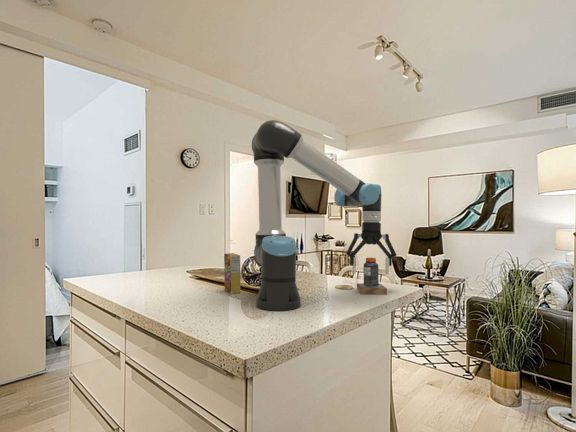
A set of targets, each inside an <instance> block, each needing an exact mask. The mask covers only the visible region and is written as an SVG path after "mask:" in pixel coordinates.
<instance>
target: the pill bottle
mask: <svg viewBox="0 0 576 432" xmlns="http://www.w3.org/2000/svg"><path fill="white" fill-rule="evenodd" d="M376 261H377V258H376V257H366V258H365V263H363V283H364V285H365V286H371V287H374V286H378V285H379V284H380V282H379V264H378V263H377V262H376Z"/></svg>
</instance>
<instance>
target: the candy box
mask: <svg viewBox="0 0 576 432" xmlns="http://www.w3.org/2000/svg"><path fill="white" fill-rule="evenodd" d="M223 257H224V258H223V259H224V260H223V261H224V266H223V267H224V269H223V270H224V290H225V291H226V292H228V293H229V294H230V295H235V294H237V295H238V294H241V255H240V254H236V253H233V252H232V253H230V252H228V253H224V255H223Z"/></svg>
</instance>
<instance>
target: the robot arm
mask: <svg viewBox="0 0 576 432" xmlns="http://www.w3.org/2000/svg"><path fill="white" fill-rule="evenodd" d="M251 151H252V153H253V164H255V166H257V180H258V182H257V183H258V184H257V185H258V187H257V188H258V221H259V222H258V224H259V228H258V231H256V233H255V245H254V250H253V254H254V258H255V261H256V262H257V263H258V264H259V265H260V266H261V283H260V286H259V290H258V293H257V296H256V301H255V302H256V303H255V305H256V307H257V308H259V309H262V310H267V311H275V312H276V311H277V312H278V311H279V312H281V311H290V310H291V311H292V310H295V309H299V308H300V307H301V305H302V304H301V296H300V291H299V289H298V287H297V280H296V279H297V278H296V277H297V272H296V271H297V270H296V269H297V268H296V267H297V241H296V240H295V238H294V237H291V236H287V235H286V234H287V233H286V231H284V230H283V227H282V224H283V223H282V186H281V183H282V181H281V180H282V179H281V167H282V165H283V164H284V163H285V158H286V159H292V160H294V161H295V162H297V163H298V164H300V165H301V166H302V167H305V169H307V170H309V171H310V172H311V173H313V174H314V175H316V176H317V177H318V178H320V179H321V180H324V181H325V182H326V183H328V184H329V185H331V186H332V187H333V188H335V189H336V190H335V192H334V197H333V198H334V204H335V205H336V206H338V207H343V208H345V207H348V208H350V207H351V208H361V210H362V211H361V213H362V214H361V215H362V216H361V217H362V218H361V219H362V223H361V233H358V232H355V233H353V239H352V241H351V243H350V245H349V246H348V249H347V251H346V252H345V255H346V256H348V257H349V262H350V263H349V264H350V265H352V274H356V272H357V271H356V264H357V263H356V260H357V257H356V255H357V253H358V252H360V250H361V249H362V248H363V247H364V246H365V245H377V246H378V247H379V249H380V250H382V252H383V253H384V255H385V256H386V257H385V268H384V269H385V274H386V275H390V267H392V263H393V262H392V261H393V259H392V258H395V257H397V253H396V251H395V249H394V246H393V245H392V243H391V241H390V236H389V234H388V233H385V234H382V227H381V226H382V223H381V221H382V195H383V194H382V187H381V185H380V184H376V183H366V182H364V181H363V180H362V179H360V178H358V177H357V176H356V175H354V174H353V173H352V172H350V171H349V170H347V169H345V168H344V167H343V166H341V165H340V164H339V163H338V162H335V160H333V159H332V158H330V157H329V156H327V155H326V154H324V153H323V152H322V151H320V150H319V149H317V148H316V147H315V146H313V145H311V144H310V143H309V142H308V141H306V140H305V139H304V137H303V134H301V133H300V132H298V131H297V130H296V129H294V128H293V127H291V126H290V125H288V124H286V123H285V122H282V121H280V120H277V119H272V120H268V121H267V120H266V121H264V122H263V123H262V124H261V125H260V126H259V128H258V129H257V131H256V133H255V134H254V135H253V138H252V140H251ZM360 238H361V239H362V241H360V242H359V244H358V245H357V246H356V248H355V249H354V247H355V245H356V243H357V241H358V240H359V239H360ZM381 239H383V240H384V241H385V244H386V246H387V248H388V249H387V248H386V247H385V246H384V244H383V243H382V242H381V241H380V240H381ZM353 249H354V250H353ZM388 250H389V251H388Z"/></svg>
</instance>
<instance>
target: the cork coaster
mask: <svg viewBox="0 0 576 432" xmlns="http://www.w3.org/2000/svg"><path fill="white" fill-rule="evenodd" d="M334 288H335V289H336V290H337V289H338V290H347V291H348V290H354V286H353V285H349V284H336V285H335V286H334Z"/></svg>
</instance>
